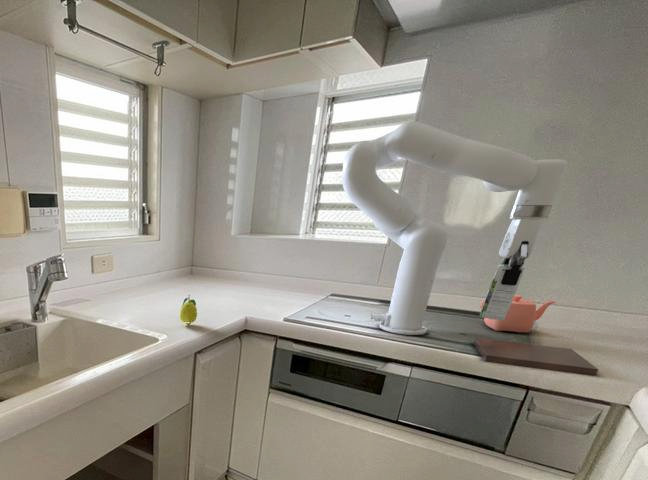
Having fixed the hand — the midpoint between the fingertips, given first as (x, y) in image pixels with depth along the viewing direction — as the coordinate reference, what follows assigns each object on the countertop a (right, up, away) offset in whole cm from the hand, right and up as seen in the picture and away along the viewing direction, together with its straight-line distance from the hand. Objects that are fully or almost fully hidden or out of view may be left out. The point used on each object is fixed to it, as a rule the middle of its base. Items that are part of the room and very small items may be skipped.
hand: (505, 282), depth 111 cm
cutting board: (-3, -21, -10) cm, 24 cm away
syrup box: (0, -9, +4) cm, 10 cm away
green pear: (-86, -10, +19) cm, 89 cm away
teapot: (+13, -12, +13) cm, 22 cm away
